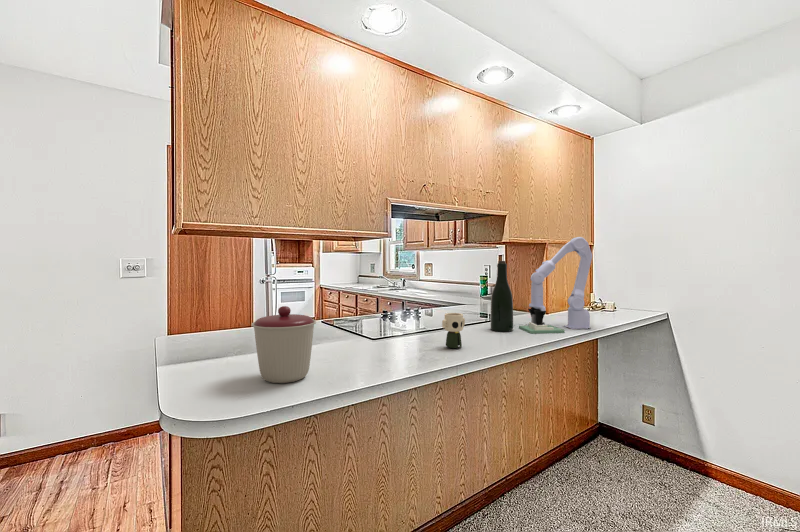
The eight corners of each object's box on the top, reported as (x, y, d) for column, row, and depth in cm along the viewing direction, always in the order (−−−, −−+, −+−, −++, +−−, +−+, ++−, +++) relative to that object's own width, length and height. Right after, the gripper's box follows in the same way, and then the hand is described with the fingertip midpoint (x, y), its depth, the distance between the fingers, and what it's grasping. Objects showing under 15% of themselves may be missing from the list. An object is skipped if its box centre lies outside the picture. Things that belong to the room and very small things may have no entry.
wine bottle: (486, 329, 198) (486, 260, 197) (505, 327, 201) (505, 260, 200) (497, 332, 188) (498, 260, 187) (517, 331, 191) (517, 260, 190)
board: (550, 327, 201) (550, 320, 201) (564, 332, 187) (564, 324, 187) (518, 328, 199) (518, 320, 199) (530, 333, 185) (530, 325, 185)
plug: (542, 325, 207) (542, 313, 207) (546, 327, 203) (546, 314, 203) (530, 325, 206) (530, 314, 206) (533, 327, 202) (533, 315, 202)
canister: (292, 366, 132) (291, 301, 132) (329, 376, 121) (328, 305, 120) (239, 379, 118) (238, 306, 118) (276, 392, 107) (275, 312, 106)
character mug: (448, 351, 152) (448, 316, 152) (436, 347, 158) (436, 314, 158) (470, 347, 158) (470, 314, 158) (458, 344, 164) (458, 311, 164)
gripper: (523, 295, 211) (523, 321, 211) (535, 297, 196) (535, 326, 197) (536, 294, 212) (536, 321, 212) (549, 297, 197) (549, 325, 197)
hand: (536, 323), depth 204 cm, fingers open, 4 cm apart
